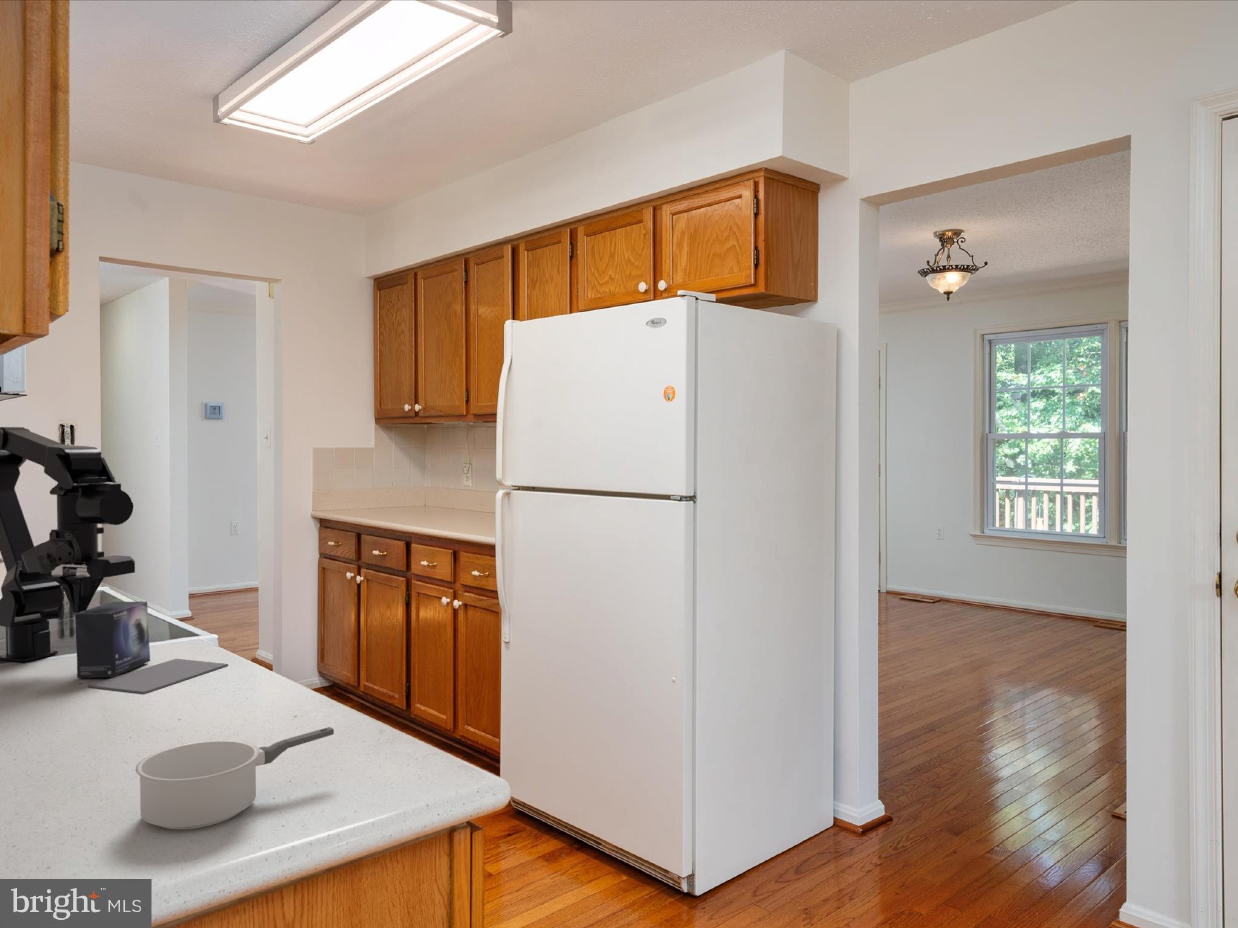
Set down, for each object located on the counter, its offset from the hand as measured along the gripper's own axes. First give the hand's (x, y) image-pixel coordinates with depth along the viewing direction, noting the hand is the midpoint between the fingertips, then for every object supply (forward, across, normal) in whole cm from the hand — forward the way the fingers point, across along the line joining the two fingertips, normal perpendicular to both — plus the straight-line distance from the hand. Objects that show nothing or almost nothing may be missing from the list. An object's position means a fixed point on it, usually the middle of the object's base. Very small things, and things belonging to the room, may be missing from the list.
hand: (79, 615), depth 146 cm
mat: (+9, +17, 0) cm, 19 cm away
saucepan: (+9, +64, -35) cm, 73 cm away
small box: (+9, +8, 0) cm, 12 cm away
